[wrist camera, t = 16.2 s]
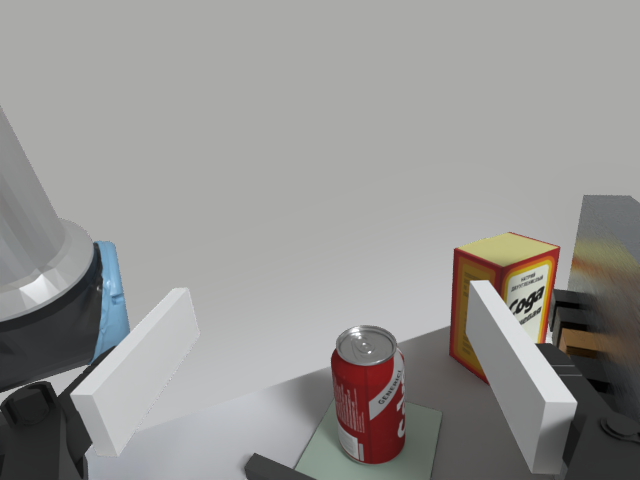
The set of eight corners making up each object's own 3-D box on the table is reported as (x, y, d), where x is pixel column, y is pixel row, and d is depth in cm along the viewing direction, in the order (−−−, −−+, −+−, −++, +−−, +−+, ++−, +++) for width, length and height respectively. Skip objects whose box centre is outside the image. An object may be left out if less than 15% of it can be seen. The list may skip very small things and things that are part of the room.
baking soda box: (499, 332, 51) (509, 229, 45) (542, 358, 45) (560, 243, 39) (449, 354, 47) (454, 245, 42) (489, 385, 41) (501, 264, 36)
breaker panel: (547, 654, 21) (634, 324, 13) (528, 409, 38) (560, 194, 30) (645, 704, 19) (822, 350, 11) (579, 422, 36) (630, 195, 27)
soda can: (353, 481, 32) (344, 377, 28) (330, 423, 38) (320, 331, 34) (418, 457, 33) (418, 355, 29) (386, 405, 40) (383, 315, 35)
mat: (294, 472, 34) (294, 469, 33) (342, 386, 44) (342, 383, 43) (421, 527, 28) (421, 523, 28) (442, 414, 38) (442, 411, 38)
